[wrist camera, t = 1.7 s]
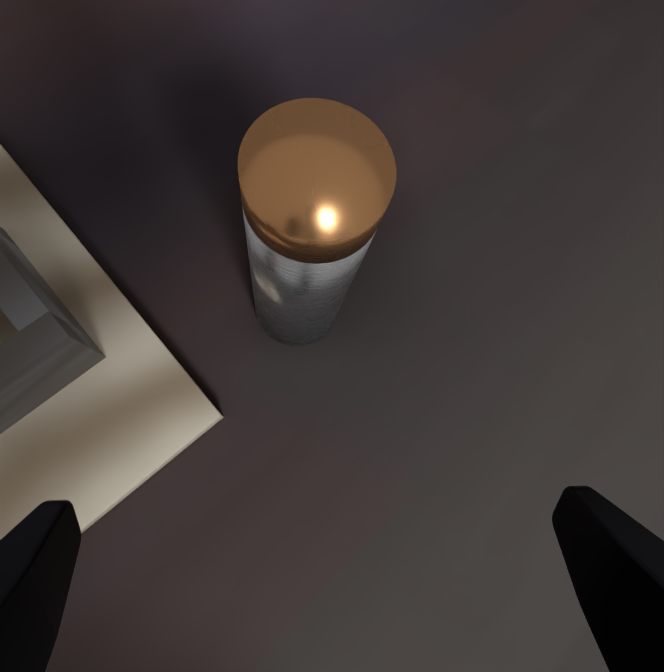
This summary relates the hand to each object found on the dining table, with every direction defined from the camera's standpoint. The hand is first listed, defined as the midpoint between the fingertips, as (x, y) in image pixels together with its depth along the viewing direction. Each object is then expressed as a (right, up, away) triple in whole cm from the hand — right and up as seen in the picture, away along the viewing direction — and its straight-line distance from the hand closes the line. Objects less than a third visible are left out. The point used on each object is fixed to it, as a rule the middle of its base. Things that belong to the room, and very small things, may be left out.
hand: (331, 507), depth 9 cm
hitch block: (-15, +2, +13) cm, 20 cm away
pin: (-2, +5, +15) cm, 16 cm away
